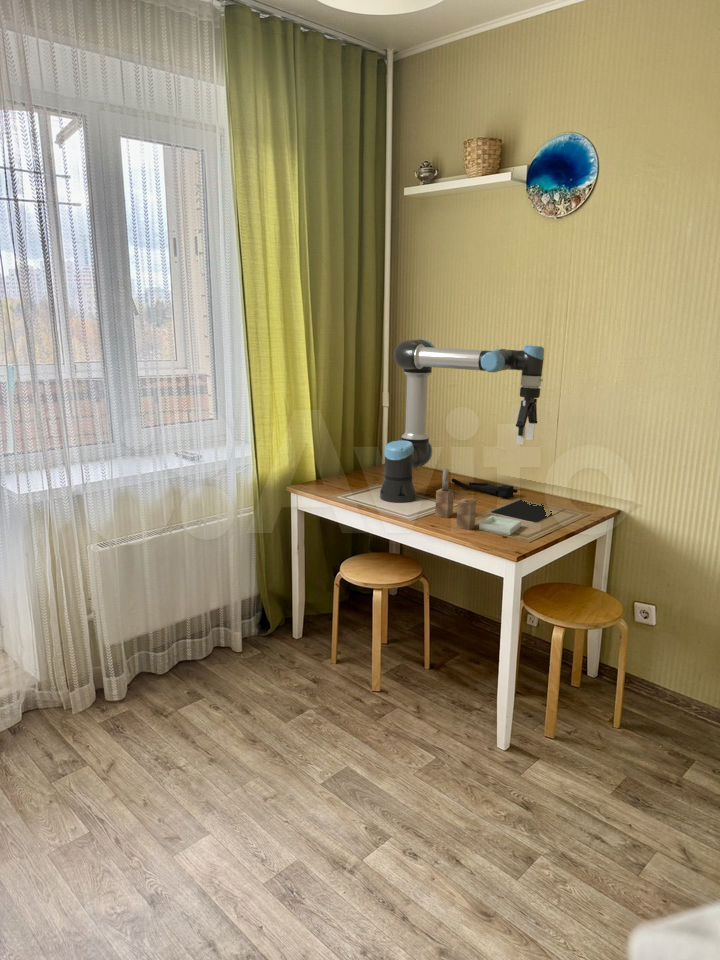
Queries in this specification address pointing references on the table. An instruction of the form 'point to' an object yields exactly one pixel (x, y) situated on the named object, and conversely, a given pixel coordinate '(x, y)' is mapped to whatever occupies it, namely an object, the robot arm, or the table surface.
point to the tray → (500, 525)
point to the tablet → (522, 511)
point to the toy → (489, 488)
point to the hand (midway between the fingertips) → (525, 441)
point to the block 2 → (466, 514)
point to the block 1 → (444, 498)
